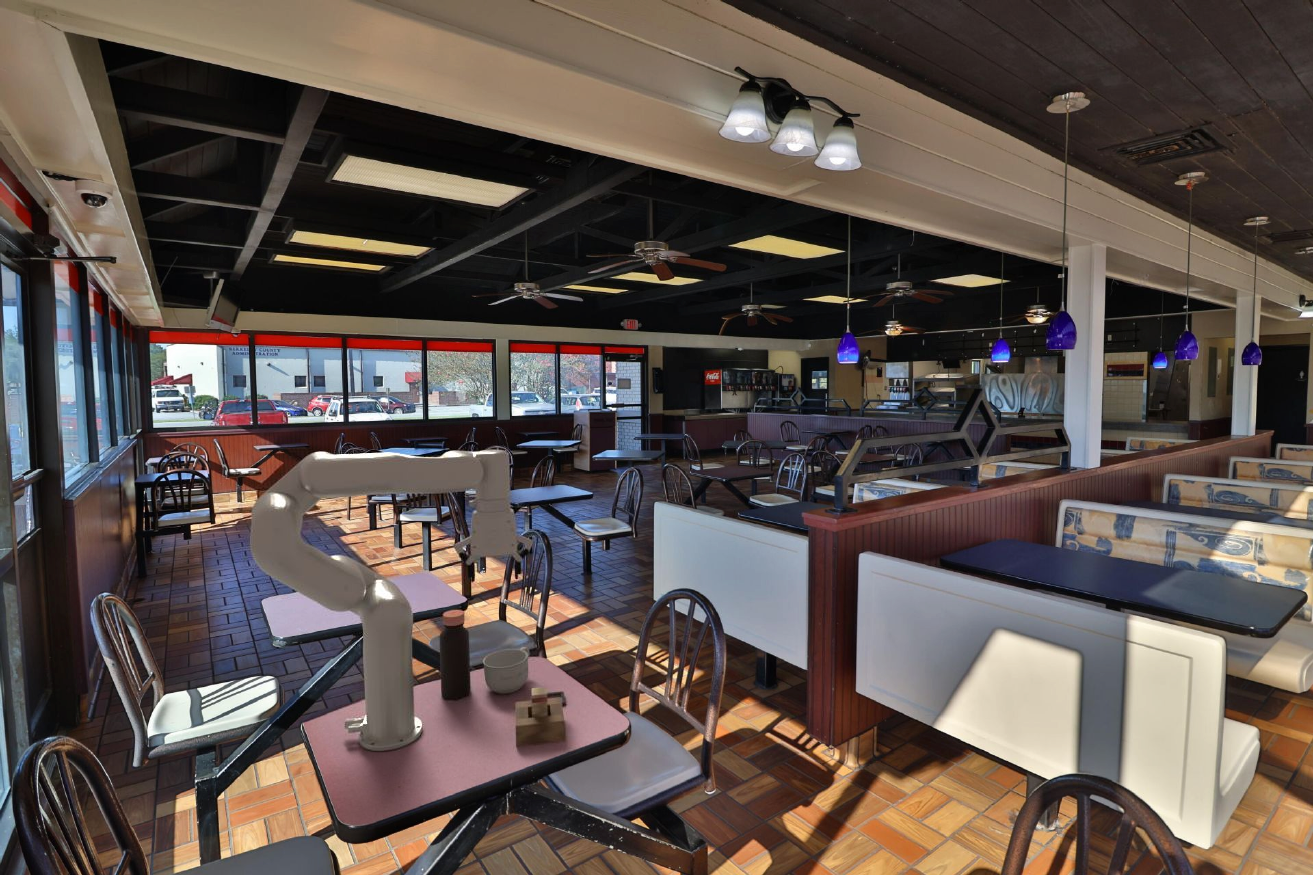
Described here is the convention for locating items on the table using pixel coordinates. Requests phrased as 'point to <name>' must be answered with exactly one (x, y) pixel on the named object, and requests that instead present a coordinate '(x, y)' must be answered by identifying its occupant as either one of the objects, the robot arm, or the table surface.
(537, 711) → the red striped block
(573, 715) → the table surface
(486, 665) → the teacup
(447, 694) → the bottle
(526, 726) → the wooden square socket block
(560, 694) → the dark gray angular bracket
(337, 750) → the table surface
